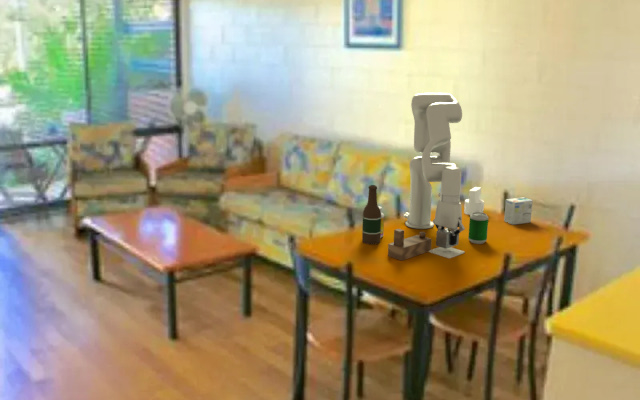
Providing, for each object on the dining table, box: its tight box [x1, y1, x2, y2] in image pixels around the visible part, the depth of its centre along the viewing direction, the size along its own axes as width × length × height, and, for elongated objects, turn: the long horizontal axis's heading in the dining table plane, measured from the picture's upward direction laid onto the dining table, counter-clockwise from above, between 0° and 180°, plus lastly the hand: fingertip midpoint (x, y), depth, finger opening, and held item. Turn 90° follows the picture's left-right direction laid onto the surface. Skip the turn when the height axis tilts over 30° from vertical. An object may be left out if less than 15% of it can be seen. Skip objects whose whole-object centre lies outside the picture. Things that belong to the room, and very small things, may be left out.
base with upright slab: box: [463, 186, 485, 216], centre depth 323 cm, size 9×9×12 cm
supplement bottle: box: [378, 205, 385, 239], centre depth 286 cm, size 7×7×13 cm
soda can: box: [468, 212, 489, 245], centre depth 280 cm, size 8×8×12 cm
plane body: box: [387, 228, 433, 261], centre depth 265 cm, size 18×7×11 cm, turn 133°
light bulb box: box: [503, 196, 533, 225], centre depth 309 cm, size 11×7×11 cm, turn 114°
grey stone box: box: [435, 227, 460, 249], centre depth 266 cm, size 8×5×7 cm, turn 133°
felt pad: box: [428, 246, 466, 259], centre depth 268 cm, size 10×10×1 cm
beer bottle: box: [361, 184, 382, 245], centre depth 277 cm, size 8×8×24 cm
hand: (447, 242), depth 266 cm, fingers closed on grey stone box, 5 cm apart
